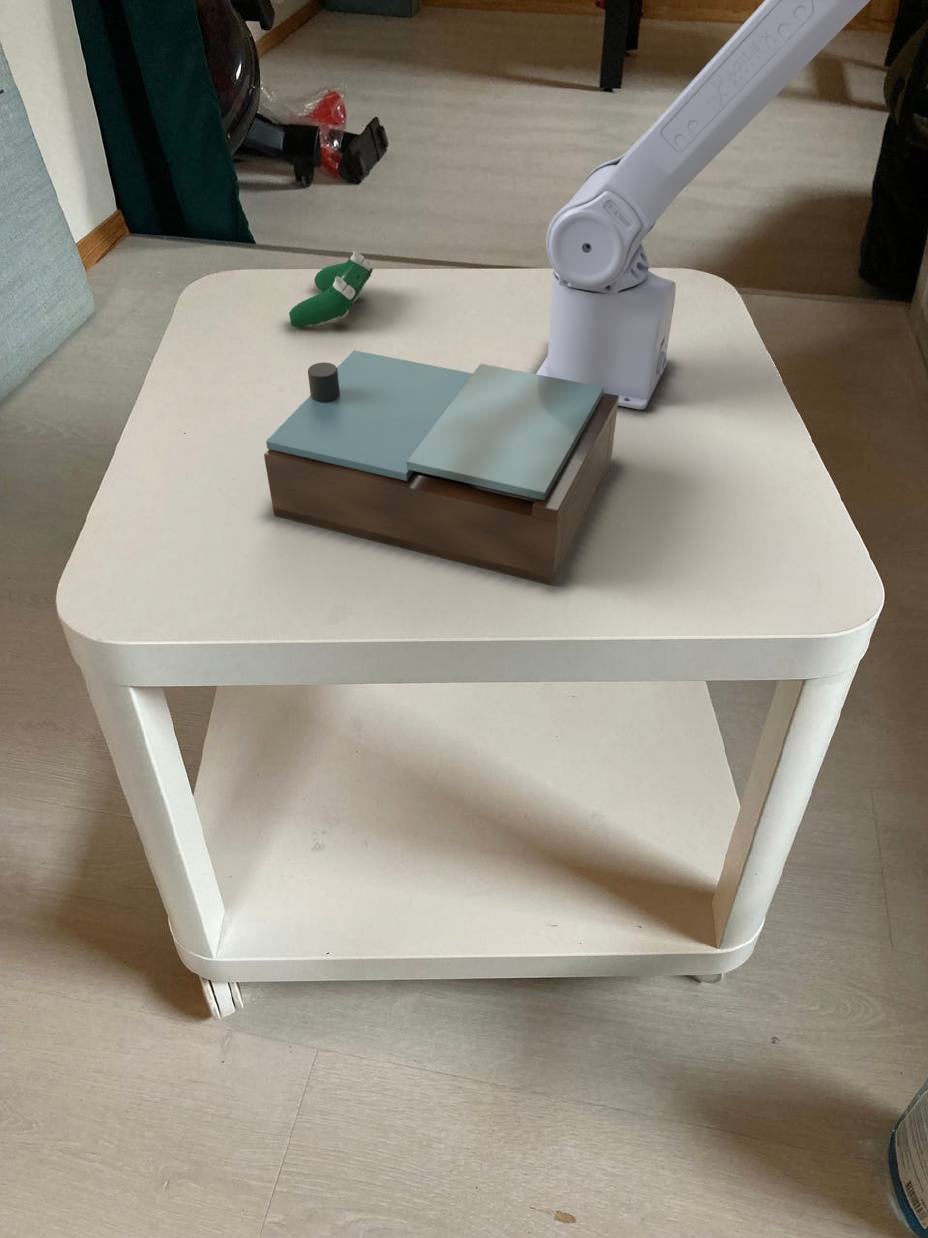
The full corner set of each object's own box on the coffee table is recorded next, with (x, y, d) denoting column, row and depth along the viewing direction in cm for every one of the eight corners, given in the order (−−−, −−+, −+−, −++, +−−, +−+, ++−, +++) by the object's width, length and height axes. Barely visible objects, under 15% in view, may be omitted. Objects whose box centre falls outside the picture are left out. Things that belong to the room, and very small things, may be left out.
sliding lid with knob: (480, 382, 70) (480, 348, 68) (407, 481, 61) (405, 446, 60) (354, 357, 73) (351, 324, 71) (266, 448, 64) (261, 414, 62)
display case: (610, 466, 71) (620, 386, 67) (552, 585, 62) (558, 501, 57) (362, 413, 77) (355, 335, 72) (273, 515, 67) (259, 433, 63)
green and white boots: (314, 351, 87) (357, 311, 84) (281, 319, 86) (324, 277, 82) (343, 304, 94) (384, 266, 90) (314, 275, 92) (354, 234, 89)
